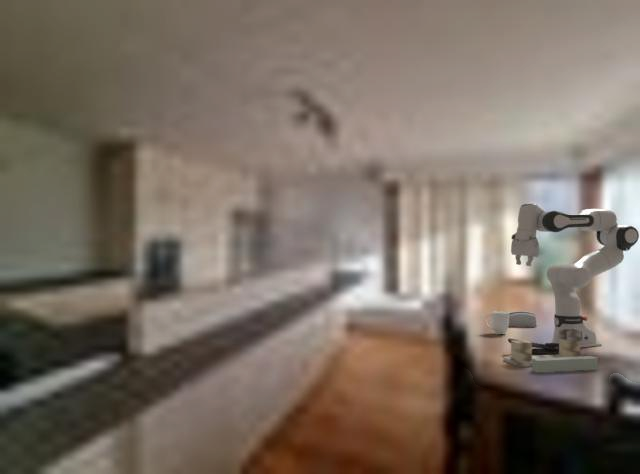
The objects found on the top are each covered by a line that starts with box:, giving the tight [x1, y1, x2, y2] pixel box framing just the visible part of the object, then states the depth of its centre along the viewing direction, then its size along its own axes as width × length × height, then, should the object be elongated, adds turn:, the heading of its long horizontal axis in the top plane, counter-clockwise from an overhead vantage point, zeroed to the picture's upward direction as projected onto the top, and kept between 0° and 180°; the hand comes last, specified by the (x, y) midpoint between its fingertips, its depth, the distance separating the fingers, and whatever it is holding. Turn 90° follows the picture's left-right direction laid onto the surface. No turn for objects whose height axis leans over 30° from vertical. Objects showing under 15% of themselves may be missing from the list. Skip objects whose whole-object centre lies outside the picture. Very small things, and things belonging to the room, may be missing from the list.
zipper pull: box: [507, 338, 559, 356], centre depth 255 cm, size 9×7×25 cm
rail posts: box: [503, 329, 582, 368], centre depth 241 cm, size 32×12×13 cm, turn 99°
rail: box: [531, 355, 599, 373], centre depth 227 cm, size 26×4×5 cm, turn 99°
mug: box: [485, 310, 510, 335], centre depth 306 cm, size 12×9×12 cm
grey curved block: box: [508, 310, 537, 328], centre depth 331 cm, size 17×5×10 cm, turn 79°
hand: (523, 265), depth 275 cm, fingers open, 8 cm apart
